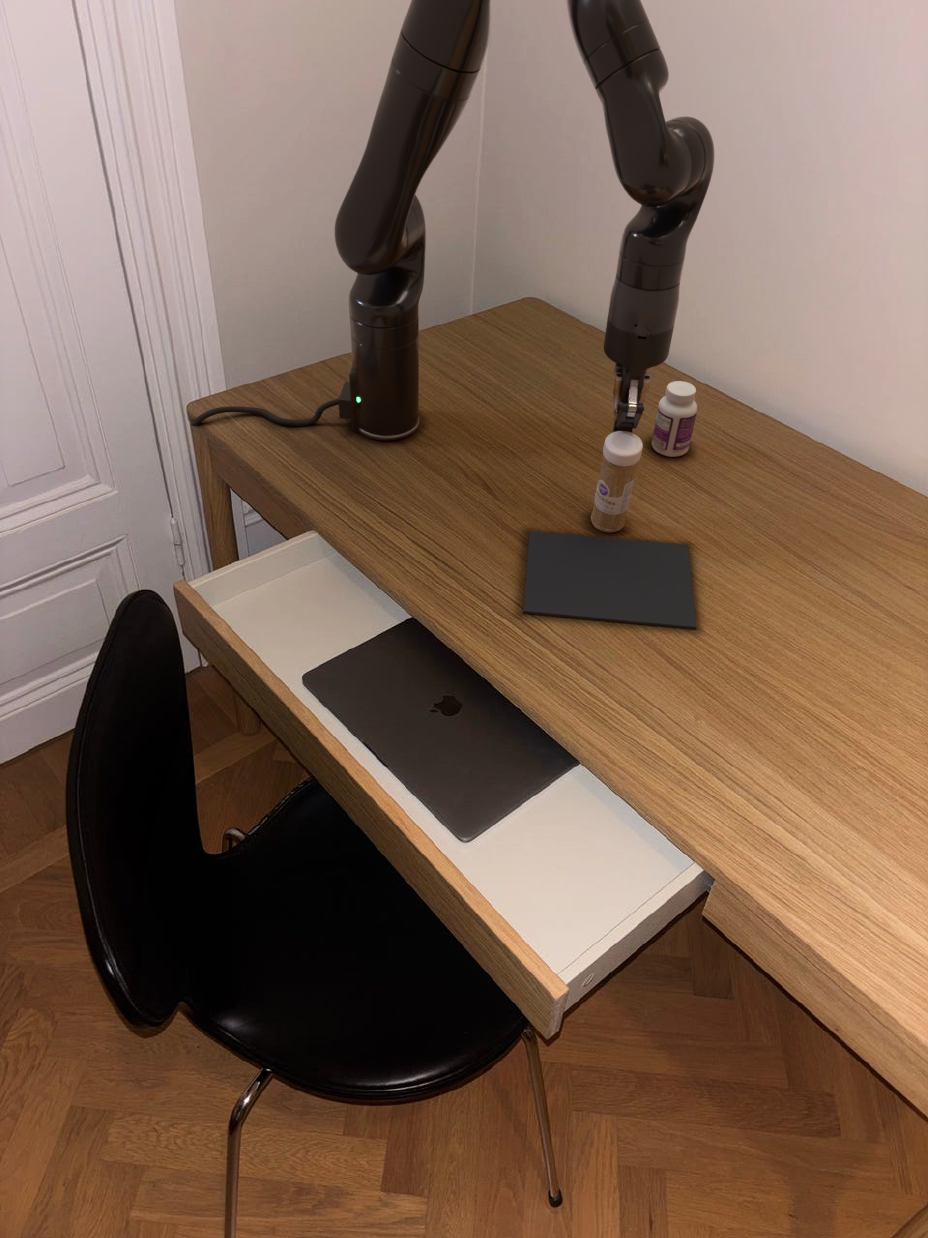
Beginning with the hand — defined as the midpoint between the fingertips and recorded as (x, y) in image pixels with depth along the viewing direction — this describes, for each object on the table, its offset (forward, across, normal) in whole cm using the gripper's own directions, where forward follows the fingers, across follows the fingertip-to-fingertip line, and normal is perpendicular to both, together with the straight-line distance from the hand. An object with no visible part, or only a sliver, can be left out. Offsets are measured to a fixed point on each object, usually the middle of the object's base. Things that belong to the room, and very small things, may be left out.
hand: (619, 445), depth 119 cm
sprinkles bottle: (+10, +3, 0) cm, 10 cm away
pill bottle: (+10, -16, +9) cm, 20 cm away
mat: (+10, +14, 0) cm, 17 cm away
